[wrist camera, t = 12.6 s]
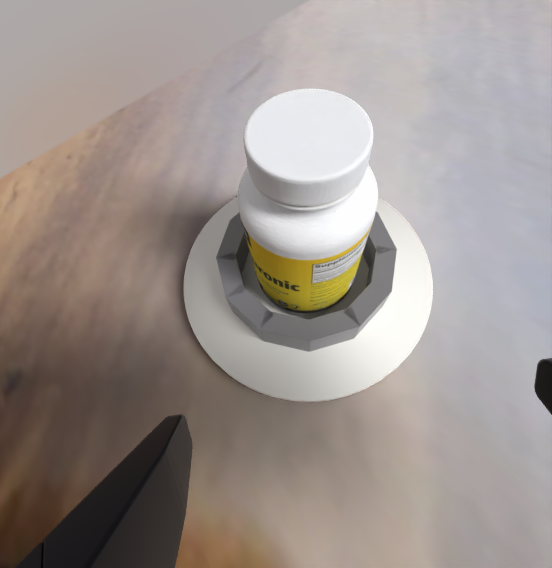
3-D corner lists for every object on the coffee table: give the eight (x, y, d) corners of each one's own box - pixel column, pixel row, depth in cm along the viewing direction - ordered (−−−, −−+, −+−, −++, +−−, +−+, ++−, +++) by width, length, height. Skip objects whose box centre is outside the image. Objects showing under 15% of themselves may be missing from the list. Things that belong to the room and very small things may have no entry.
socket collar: (475, 272, 20) (503, 244, 17) (314, 467, 16) (317, 472, 13) (297, 156, 24) (297, 120, 22) (142, 285, 21) (118, 261, 18)
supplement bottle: (240, 260, 20) (192, 112, 11) (318, 219, 21) (332, 52, 12) (288, 337, 18) (275, 230, 9) (373, 288, 18) (439, 145, 10)
